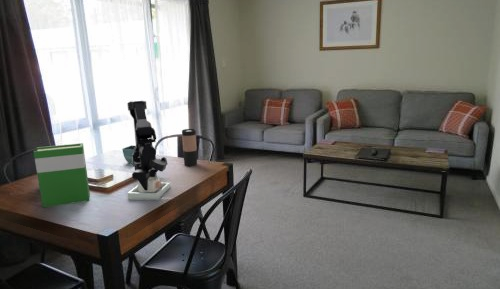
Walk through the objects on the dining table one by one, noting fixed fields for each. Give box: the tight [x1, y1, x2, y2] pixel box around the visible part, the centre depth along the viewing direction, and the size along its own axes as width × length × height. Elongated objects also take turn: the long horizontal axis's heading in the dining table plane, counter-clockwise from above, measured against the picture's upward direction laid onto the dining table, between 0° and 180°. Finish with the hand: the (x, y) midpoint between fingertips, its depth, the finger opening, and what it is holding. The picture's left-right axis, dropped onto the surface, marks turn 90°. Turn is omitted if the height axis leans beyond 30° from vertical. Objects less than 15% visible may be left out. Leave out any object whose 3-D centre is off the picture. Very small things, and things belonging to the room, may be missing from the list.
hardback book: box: [33, 142, 91, 208], centre depth 152 cm, size 18×7×24 cm, turn 111°
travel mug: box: [181, 128, 198, 167], centre depth 201 cm, size 8×8×20 cm
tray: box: [127, 182, 171, 201], centre depth 160 cm, size 14×14×3 cm
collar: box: [137, 176, 162, 193], centre depth 159 cm, size 7×9×4 cm
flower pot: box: [122, 144, 136, 164], centre depth 209 cm, size 9×9×9 cm
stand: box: [156, 173, 170, 183], centre depth 174 cm, size 10×10×7 cm
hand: (149, 187), depth 160 cm, fingers closed on collar, 7 cm apart
